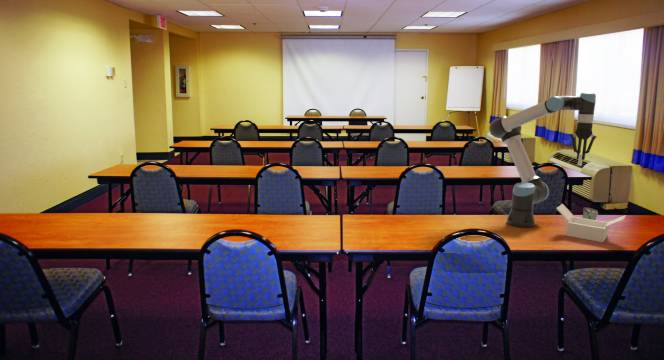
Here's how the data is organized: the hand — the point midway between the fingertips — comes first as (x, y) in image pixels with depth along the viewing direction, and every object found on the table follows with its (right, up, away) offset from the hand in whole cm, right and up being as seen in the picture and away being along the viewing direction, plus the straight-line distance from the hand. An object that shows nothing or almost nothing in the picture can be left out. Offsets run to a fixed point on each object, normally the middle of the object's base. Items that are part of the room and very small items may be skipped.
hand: (579, 165), depth 278 cm
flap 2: (+12, -29, -14) cm, 34 cm away
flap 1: (-8, -25, 0) cm, 27 cm away
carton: (+2, -38, -4) cm, 38 cm away
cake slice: (+12, -35, +13) cm, 39 cm away
